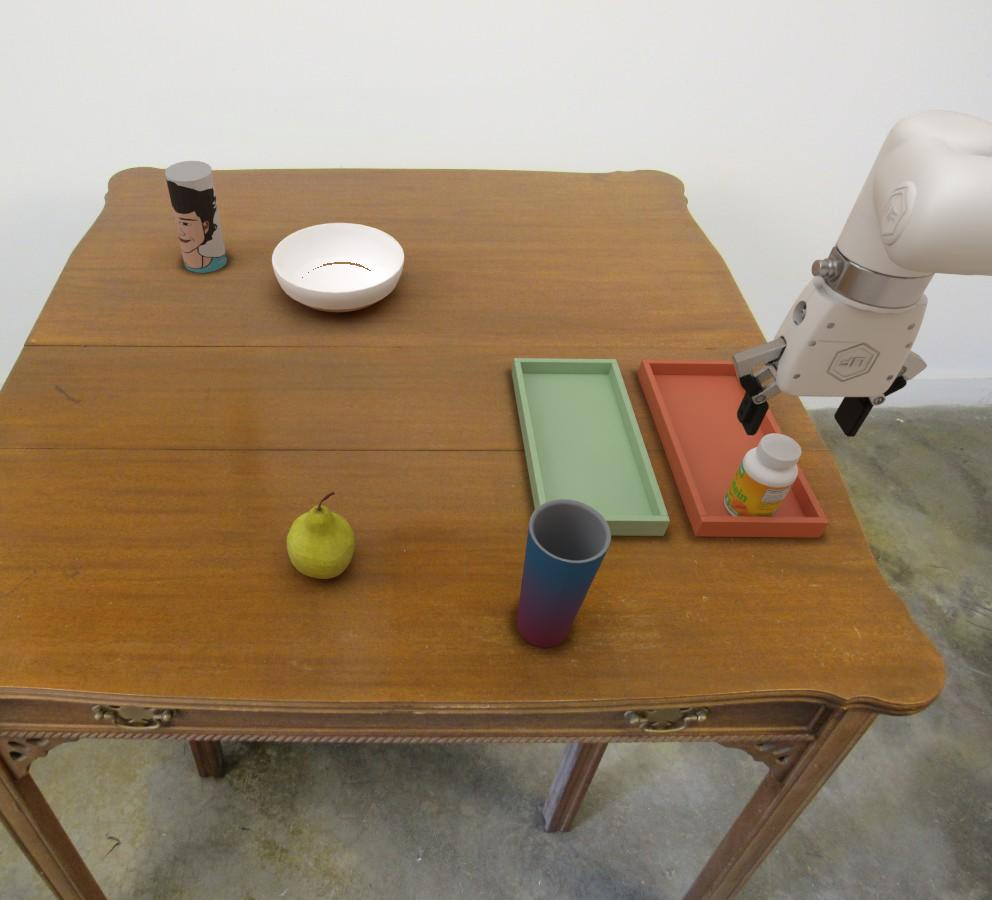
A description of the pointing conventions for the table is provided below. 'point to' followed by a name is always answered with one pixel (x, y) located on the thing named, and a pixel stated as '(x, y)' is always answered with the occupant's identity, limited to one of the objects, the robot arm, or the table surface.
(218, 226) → the white printed cylinder
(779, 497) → the supplement bottle
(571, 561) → the cup
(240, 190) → the table surface
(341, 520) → the fruit
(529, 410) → the sage tray
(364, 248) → the bowl
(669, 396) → the terracotta tray
